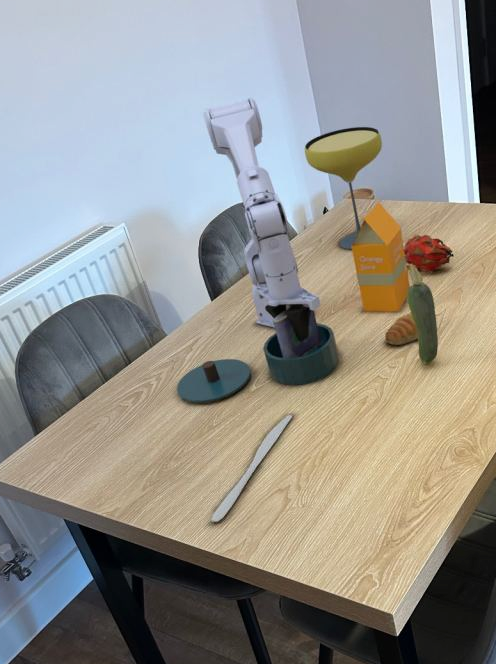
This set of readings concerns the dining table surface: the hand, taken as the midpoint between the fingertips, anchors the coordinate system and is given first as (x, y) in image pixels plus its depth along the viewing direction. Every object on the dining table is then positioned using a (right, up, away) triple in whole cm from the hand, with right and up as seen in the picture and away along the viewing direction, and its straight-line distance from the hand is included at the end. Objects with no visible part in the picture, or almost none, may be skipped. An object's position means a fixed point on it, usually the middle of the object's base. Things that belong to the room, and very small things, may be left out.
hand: (297, 336), depth 141 cm
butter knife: (-5, -23, -19) cm, 31 cm away
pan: (+1, -5, +4) cm, 6 cm away
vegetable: (+24, -6, -5) cm, 26 cm away
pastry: (+22, +1, +6) cm, 22 cm away
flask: (+1, -3, +2) cm, 4 cm away
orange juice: (+18, +10, +19) cm, 28 cm away
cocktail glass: (+13, +30, +49) cm, 59 cm away
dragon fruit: (+28, +19, +28) cm, 43 cm away
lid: (-16, -8, +4) cm, 19 cm away
